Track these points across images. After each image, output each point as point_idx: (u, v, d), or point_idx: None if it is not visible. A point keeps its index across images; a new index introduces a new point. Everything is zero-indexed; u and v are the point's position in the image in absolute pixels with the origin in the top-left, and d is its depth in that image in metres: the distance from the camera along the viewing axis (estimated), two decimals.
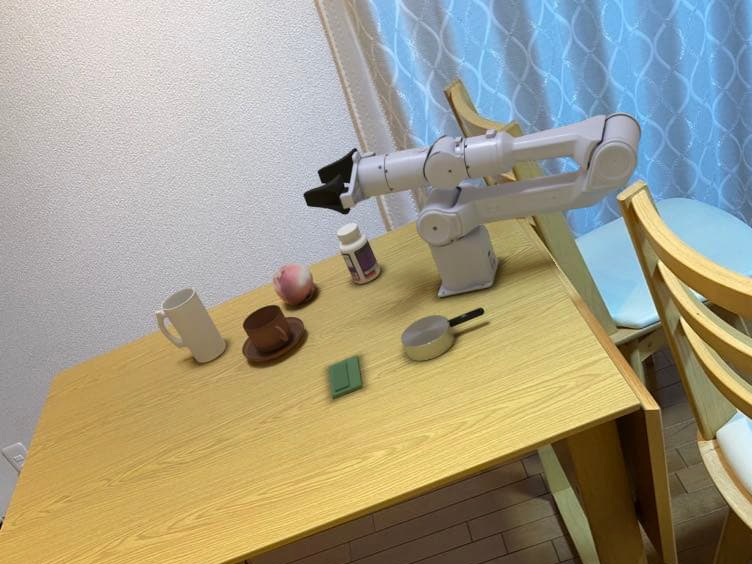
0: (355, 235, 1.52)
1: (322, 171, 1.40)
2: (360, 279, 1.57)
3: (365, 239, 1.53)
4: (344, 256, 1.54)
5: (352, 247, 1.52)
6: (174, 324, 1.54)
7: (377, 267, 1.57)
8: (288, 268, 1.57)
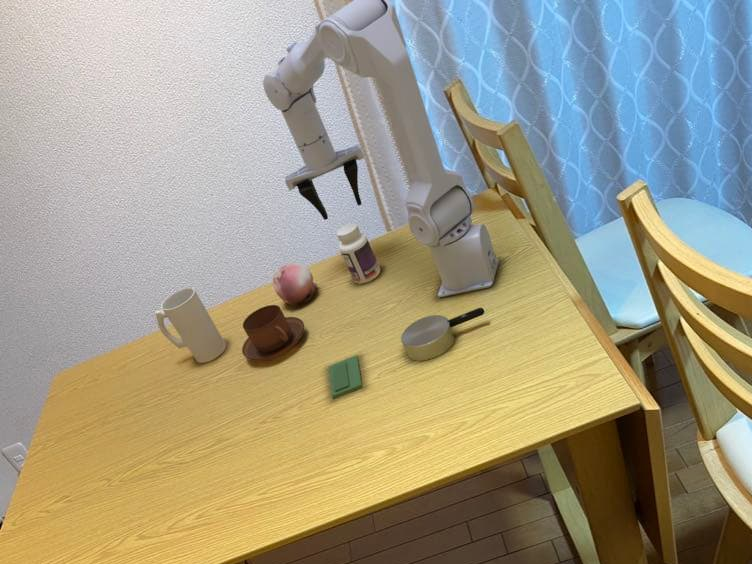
0: (355, 235, 1.52)
1: None
2: (360, 279, 1.57)
3: (365, 239, 1.53)
4: (344, 256, 1.54)
5: (352, 247, 1.52)
6: (174, 324, 1.54)
7: (377, 267, 1.57)
8: (288, 268, 1.57)
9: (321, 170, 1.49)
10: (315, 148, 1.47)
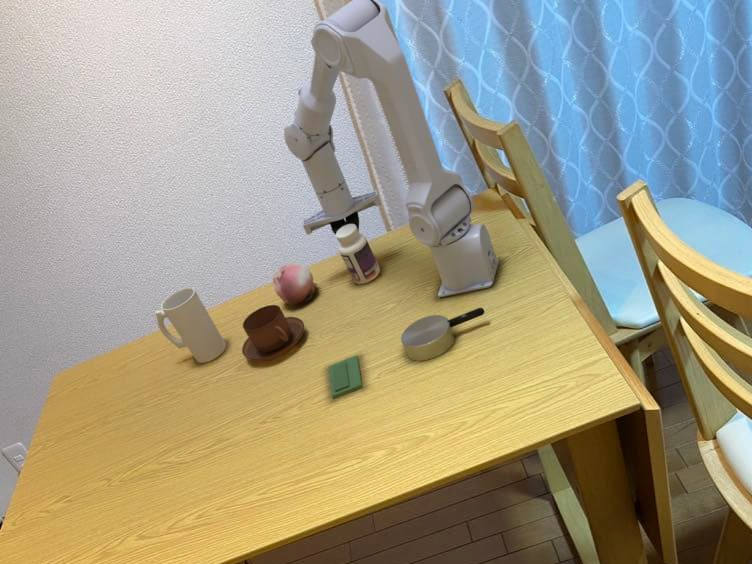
0: (354, 237, 1.51)
1: None
2: (360, 279, 1.57)
3: (364, 240, 1.53)
4: (344, 257, 1.54)
5: (352, 249, 1.52)
6: (174, 324, 1.54)
7: (377, 267, 1.57)
8: (288, 268, 1.57)
9: (339, 216, 1.52)
10: (334, 196, 1.50)
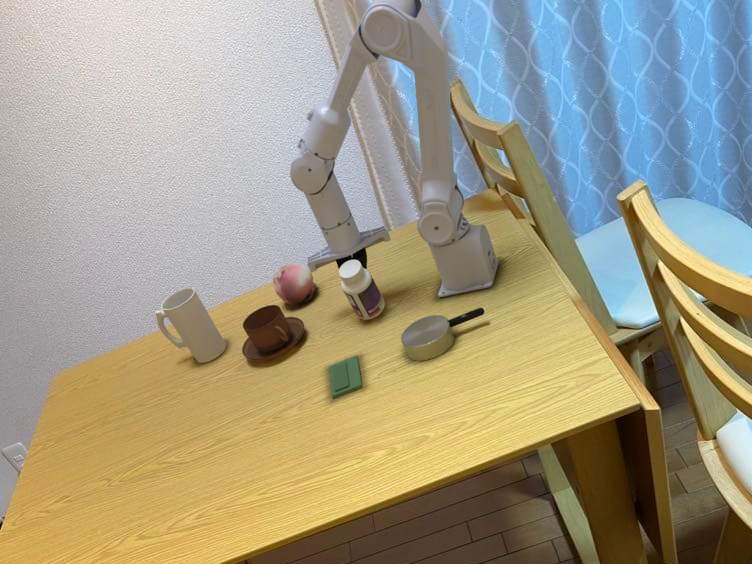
0: (359, 277, 1.40)
1: None
2: (363, 316, 1.47)
3: (369, 279, 1.42)
4: (346, 295, 1.43)
5: (355, 290, 1.41)
6: (174, 324, 1.54)
7: (381, 303, 1.46)
8: (288, 268, 1.57)
9: (345, 253, 1.42)
10: (340, 231, 1.39)
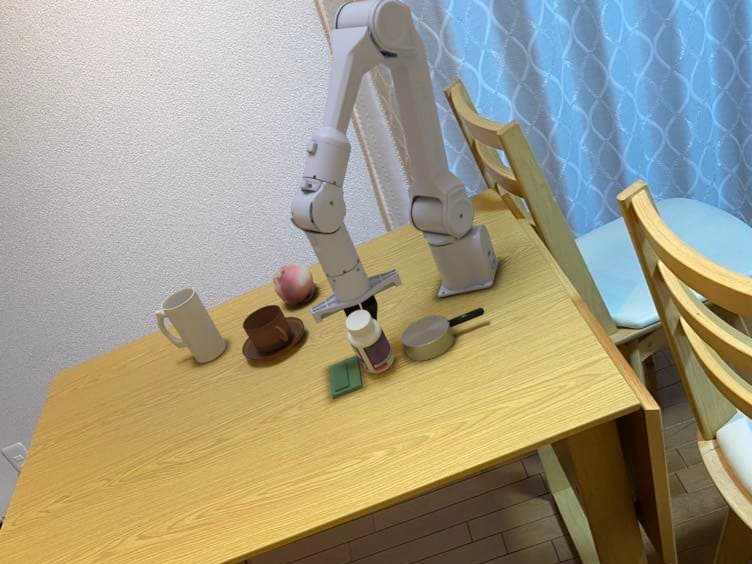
0: (366, 331, 1.28)
1: None
2: (369, 369, 1.34)
3: (378, 333, 1.29)
4: (352, 346, 1.31)
5: (361, 344, 1.29)
6: (174, 324, 1.54)
7: (390, 358, 1.34)
8: (288, 268, 1.57)
9: (355, 301, 1.29)
10: (349, 278, 1.27)
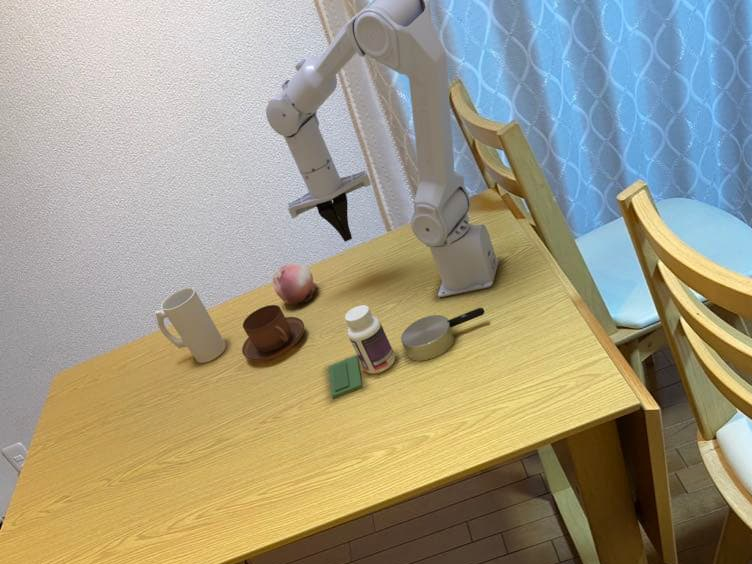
0: (364, 322, 1.29)
1: None
2: (369, 369, 1.35)
3: (377, 327, 1.30)
4: (351, 342, 1.32)
5: (359, 336, 1.30)
6: (174, 324, 1.54)
7: (390, 357, 1.34)
8: (288, 268, 1.57)
9: (326, 198, 1.42)
10: (320, 175, 1.40)
